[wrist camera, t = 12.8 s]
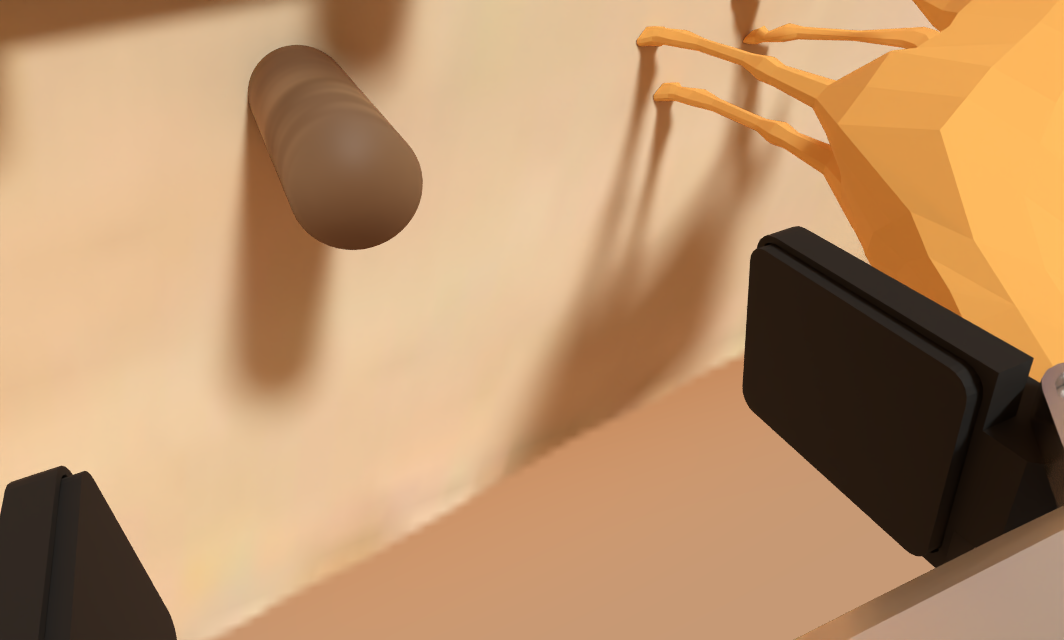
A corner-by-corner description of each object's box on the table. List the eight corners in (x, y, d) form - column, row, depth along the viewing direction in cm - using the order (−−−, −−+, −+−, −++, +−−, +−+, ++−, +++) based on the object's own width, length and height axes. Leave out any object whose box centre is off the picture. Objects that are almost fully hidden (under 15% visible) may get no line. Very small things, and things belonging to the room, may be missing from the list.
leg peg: (337, 35, 24) (409, 108, 17) (359, 132, 25) (432, 230, 19) (234, 56, 23) (271, 140, 16) (264, 154, 24) (308, 264, 18)
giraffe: (481, 231, 29) (1222, 1086, 9) (428, 128, 26) (1317, 1024, 6) (845, 15, 30) (2129, 341, 11) (830, -103, 28) (2507, 44, 8)
